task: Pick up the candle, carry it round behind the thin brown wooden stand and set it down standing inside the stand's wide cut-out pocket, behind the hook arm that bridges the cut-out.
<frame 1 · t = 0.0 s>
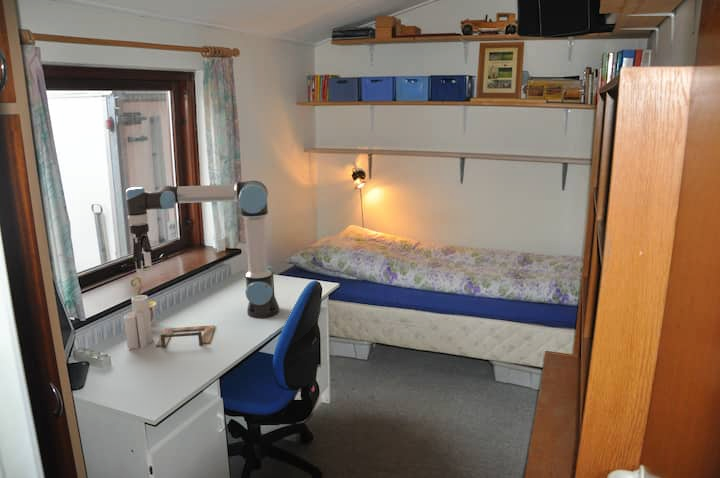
hand: (144, 270, 247), 28 cm above the table, fingers open, 13 cm apart
brown wooden stand: (186, 336, 246), on the table
candle: (141, 344, 240), on the table
wall sconce: (144, 328, 256), on the table
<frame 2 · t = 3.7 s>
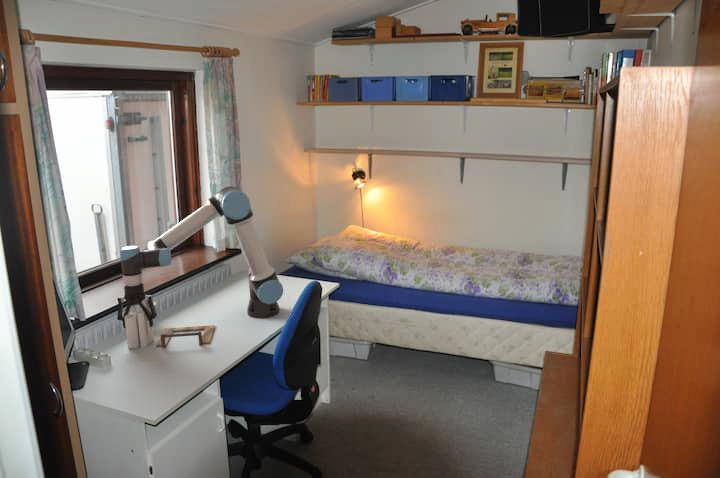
hand: (139, 334, 239), 5 cm above the table, fingers closed on candle, 8 cm apart
candle: (141, 344, 240), on the table, touching gripper
everything else where it was.
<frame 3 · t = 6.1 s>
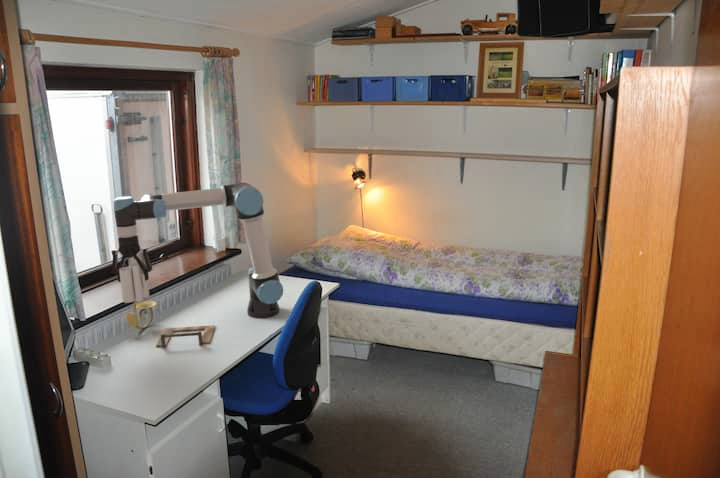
hand: (134, 288, 234), 25 cm above the table, fingers closed on candle, 8 cm apart
candle: (137, 298, 235), point 20 cm above the table, touching gripper
everything else where it was.
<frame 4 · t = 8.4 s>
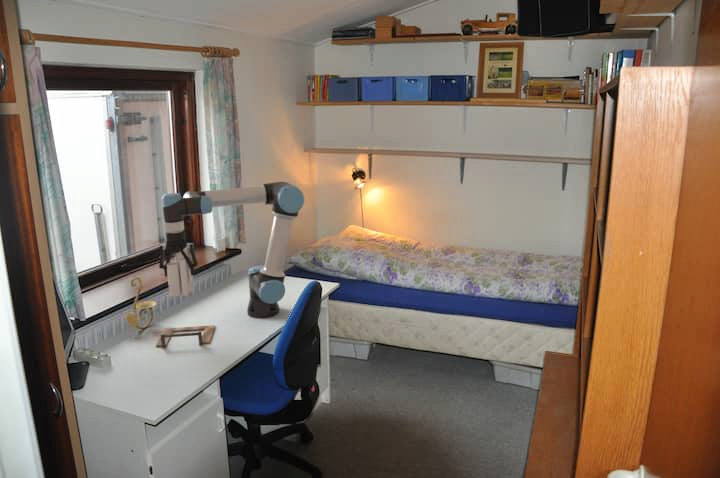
hand: (180, 282, 239), 25 cm above the table, fingers closed on candle, 8 cm apart
candle: (183, 293, 240), point 21 cm above the table, touching gripper
everything else where it was.
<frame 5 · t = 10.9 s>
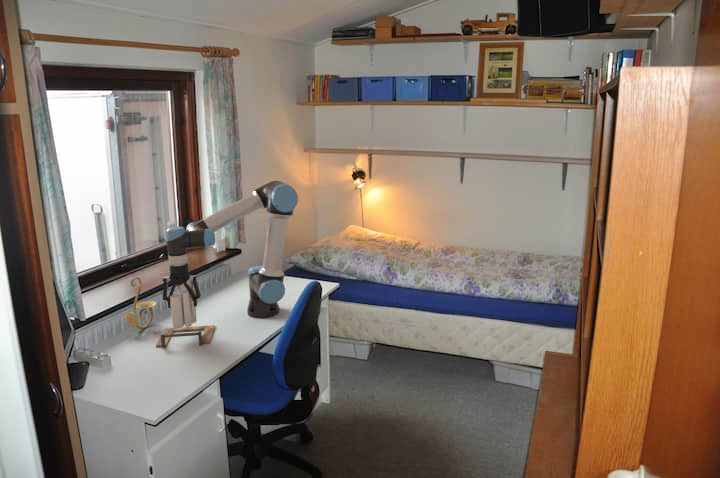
hand: (183, 314, 242), 11 cm above the table, fingers closed on candle, 8 cm apart
candle: (185, 324, 243), point 6 cm above the table, touching gripper
everything else where it was.
when the fingers open (5 cm above the table, at t = 13.3 s): candle stays where it is, resting in brown wooden stand.
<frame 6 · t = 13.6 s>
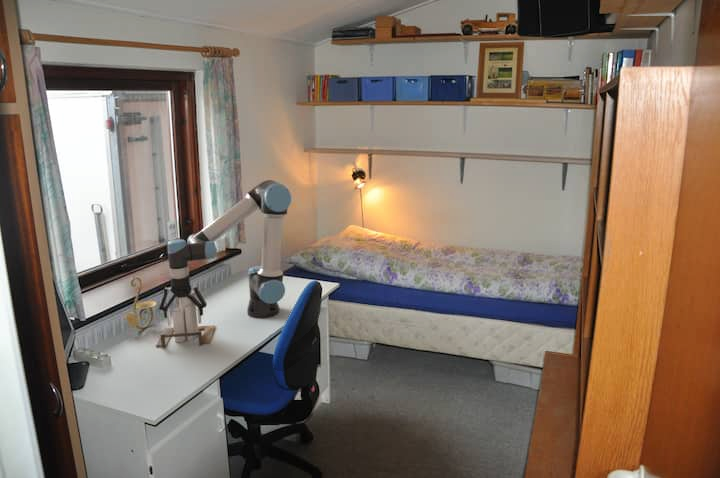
hand: (184, 323, 243), 7 cm above the table, fingers open, 12 cm apart
candle: (187, 337, 245), resting in brown wooden stand
everything else where it was.
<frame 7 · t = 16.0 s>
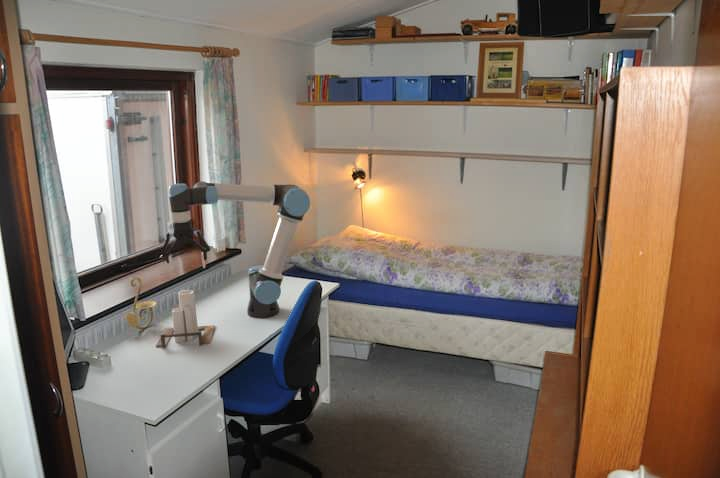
hand: (188, 268, 243), 30 cm above the table, fingers open, 13 cm apart
nothing on the table moved.
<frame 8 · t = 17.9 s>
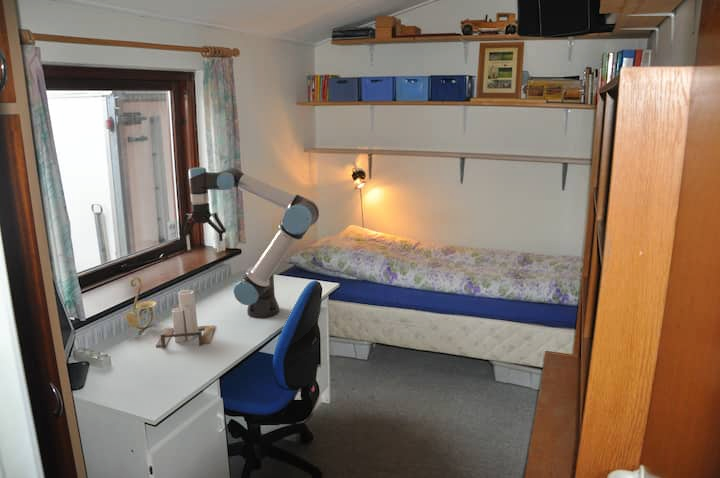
hand: (204, 248, 255), 35 cm above the table, fingers open, 13 cm apart
nothing on the table moved.
at the end: candle inside the target area on the brown wooden stand (1.3 cm from its centre), point 0.0 cm above the brown wooden stand's base; candle tilted 0°; the gripper is holding nothing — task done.
